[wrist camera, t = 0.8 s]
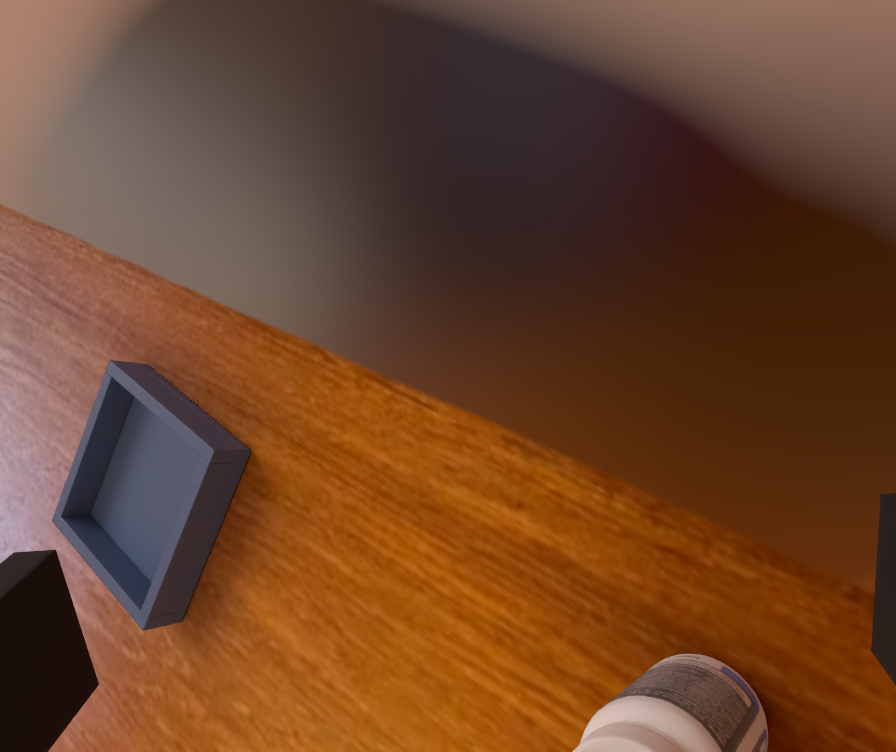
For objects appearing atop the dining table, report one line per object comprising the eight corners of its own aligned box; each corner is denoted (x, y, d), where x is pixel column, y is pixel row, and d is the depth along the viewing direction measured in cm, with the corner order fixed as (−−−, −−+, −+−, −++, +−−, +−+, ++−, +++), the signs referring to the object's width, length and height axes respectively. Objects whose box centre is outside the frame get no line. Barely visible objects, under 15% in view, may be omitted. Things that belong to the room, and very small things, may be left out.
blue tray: (146, 364, 47) (109, 359, 45) (251, 450, 41) (214, 450, 39) (89, 517, 49) (51, 521, 47) (182, 622, 43) (142, 631, 41)
